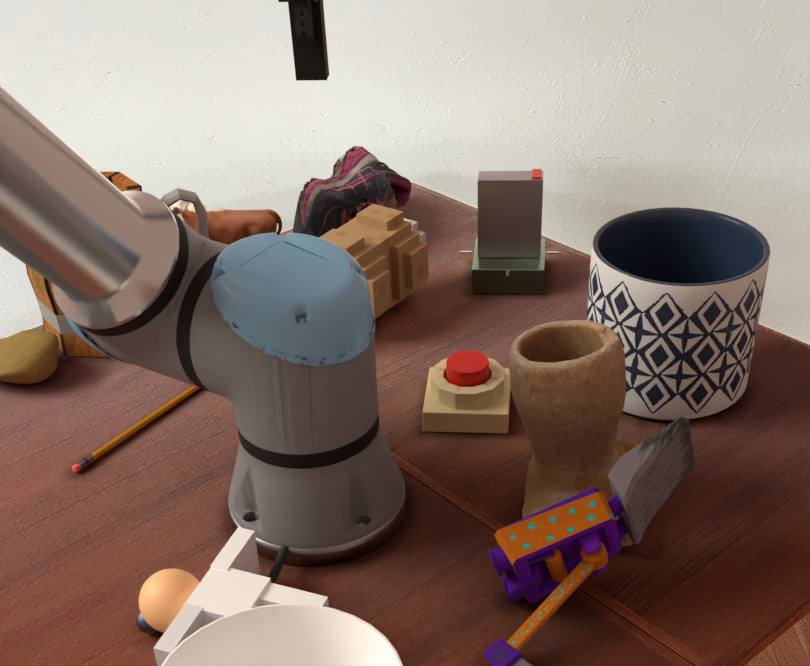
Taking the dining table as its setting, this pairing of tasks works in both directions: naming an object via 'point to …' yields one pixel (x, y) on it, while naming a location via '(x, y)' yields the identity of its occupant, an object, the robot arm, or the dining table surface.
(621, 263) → the planter
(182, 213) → the bull figurine
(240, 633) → the bowl
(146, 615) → the figurine
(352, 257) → the robot arm
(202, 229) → the mug
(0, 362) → the potato
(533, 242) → the tap handle
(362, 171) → the athletic shoe
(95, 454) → the pencil
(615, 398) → the stone cup
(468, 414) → the button box
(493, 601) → the dining table surface
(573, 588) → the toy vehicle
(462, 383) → the red button
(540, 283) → the tap panel
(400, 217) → the roast turkey
